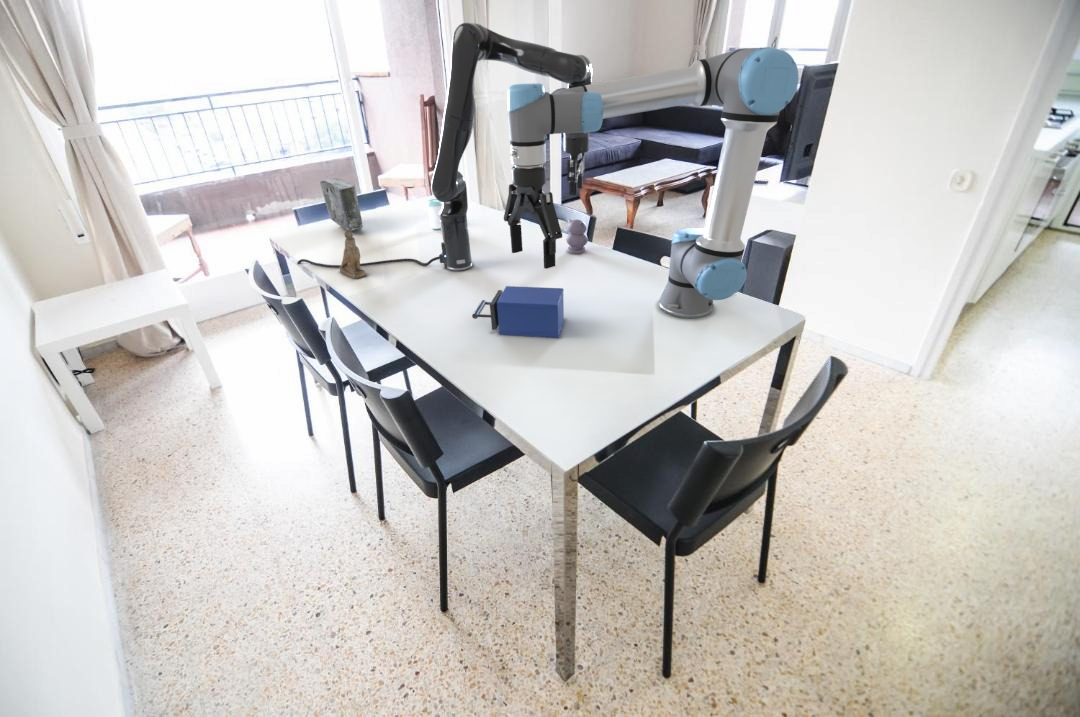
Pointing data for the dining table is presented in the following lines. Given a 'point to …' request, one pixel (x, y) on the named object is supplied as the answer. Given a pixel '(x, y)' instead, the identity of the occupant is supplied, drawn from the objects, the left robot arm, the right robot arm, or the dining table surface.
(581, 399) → the dining table surface
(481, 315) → the drawer
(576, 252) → the cat figurine
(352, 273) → the worn brown figurine
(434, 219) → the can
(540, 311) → the cabinet
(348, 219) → the concrete block
